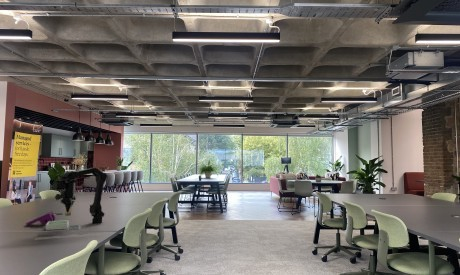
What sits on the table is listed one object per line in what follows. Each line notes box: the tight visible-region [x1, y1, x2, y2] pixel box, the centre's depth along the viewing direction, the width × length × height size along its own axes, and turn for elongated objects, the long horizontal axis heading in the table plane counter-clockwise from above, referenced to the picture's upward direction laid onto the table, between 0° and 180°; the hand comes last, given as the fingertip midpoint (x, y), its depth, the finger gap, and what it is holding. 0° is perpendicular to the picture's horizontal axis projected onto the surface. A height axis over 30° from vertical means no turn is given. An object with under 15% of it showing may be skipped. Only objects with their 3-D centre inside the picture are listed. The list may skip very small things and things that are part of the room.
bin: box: [45, 219, 70, 231], centre depth 226 cm, size 13×13×5 cm
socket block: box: [67, 224, 82, 231], centre depth 223 cm, size 8×8×3 cm
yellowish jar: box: [64, 207, 72, 217], centre depth 225 cm, size 4×4×9 cm
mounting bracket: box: [25, 210, 56, 227], centre depth 241 cm, size 9×8×18 cm
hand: (68, 211), depth 224 cm, fingers closed on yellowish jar, 4 cm apart
